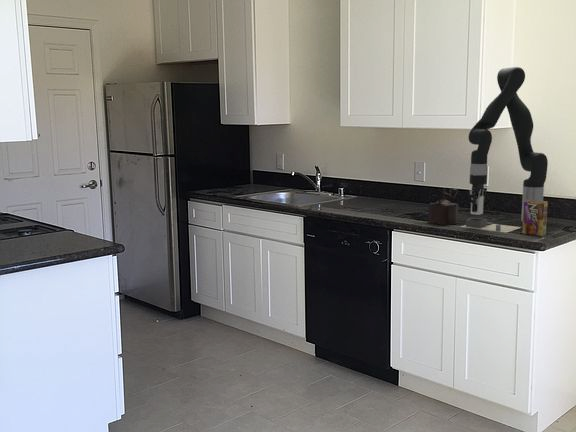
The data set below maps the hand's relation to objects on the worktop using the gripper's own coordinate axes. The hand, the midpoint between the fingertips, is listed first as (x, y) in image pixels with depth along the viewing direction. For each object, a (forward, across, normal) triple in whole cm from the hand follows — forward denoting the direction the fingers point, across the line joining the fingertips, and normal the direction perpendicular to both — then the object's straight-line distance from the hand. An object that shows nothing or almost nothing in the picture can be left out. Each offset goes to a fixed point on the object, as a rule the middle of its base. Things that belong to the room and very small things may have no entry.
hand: (476, 211), depth 296 cm
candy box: (+8, +1, +27) cm, 28 cm away
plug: (+1, 0, 0) cm, 1 cm away
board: (+8, -2, +6) cm, 10 cm away
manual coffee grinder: (+8, -2, -16) cm, 18 cm away
